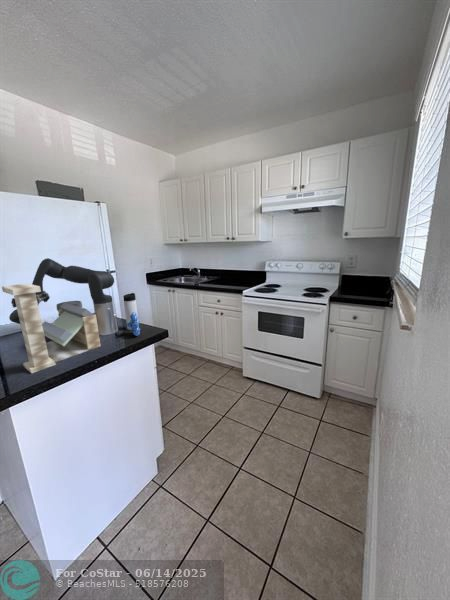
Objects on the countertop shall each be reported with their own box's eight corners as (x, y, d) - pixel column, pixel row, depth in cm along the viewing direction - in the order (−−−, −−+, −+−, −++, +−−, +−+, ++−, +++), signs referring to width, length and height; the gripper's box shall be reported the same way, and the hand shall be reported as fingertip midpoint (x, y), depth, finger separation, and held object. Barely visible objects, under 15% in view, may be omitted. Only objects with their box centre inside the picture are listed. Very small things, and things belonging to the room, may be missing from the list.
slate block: (50, 324, 118) (44, 321, 116) (72, 334, 104) (66, 330, 102) (43, 331, 116) (38, 328, 114) (65, 341, 102) (59, 338, 100)
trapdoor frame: (75, 335, 129) (70, 307, 125) (100, 346, 113) (95, 314, 110) (33, 347, 114) (26, 316, 111) (56, 361, 99) (48, 326, 95)
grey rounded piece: (82, 323, 149) (79, 299, 145) (88, 327, 140) (84, 303, 136) (58, 328, 141) (54, 303, 137) (62, 333, 131) (57, 307, 128)
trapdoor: (70, 307, 124) (64, 302, 121) (93, 314, 110) (86, 309, 107) (43, 335, 116) (36, 330, 113) (64, 346, 102) (56, 341, 99)
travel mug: (141, 326, 139) (137, 293, 135) (134, 330, 133) (129, 295, 128) (132, 326, 141) (128, 292, 137) (124, 329, 135) (120, 295, 130)
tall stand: (43, 356, 105) (27, 283, 97) (55, 364, 96) (39, 286, 89) (20, 363, 98) (1, 286, 91) (31, 373, 90) (12, 289, 83)
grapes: (125, 333, 130) (123, 311, 127) (138, 330, 133) (136, 309, 130) (129, 340, 120) (126, 317, 117) (143, 337, 123) (140, 314, 121)
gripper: (6, 303, 117) (11, 289, 107) (41, 297, 128) (48, 284, 118) (12, 317, 117) (17, 304, 107) (46, 310, 128) (54, 298, 118)
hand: (33, 294), depth 113 cm, fingers open, 8 cm apart
